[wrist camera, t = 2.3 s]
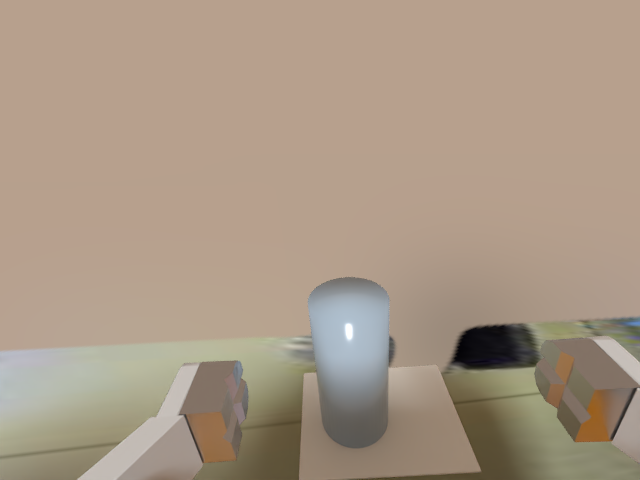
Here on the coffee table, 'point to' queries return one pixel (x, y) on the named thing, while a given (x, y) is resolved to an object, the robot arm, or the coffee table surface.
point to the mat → (391, 433)
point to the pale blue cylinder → (351, 358)
